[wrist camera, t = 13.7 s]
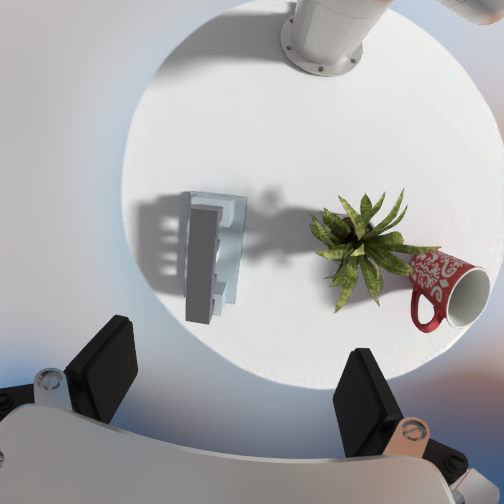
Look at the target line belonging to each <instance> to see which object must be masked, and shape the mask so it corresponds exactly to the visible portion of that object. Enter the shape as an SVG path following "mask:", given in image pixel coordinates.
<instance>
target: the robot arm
mask: <svg viewBox="0 0 504 504" xmlns="http://www.w3.org/2000/svg"><path fill="white" fill-rule="evenodd" d="M436 1H438V2H439V3H441V4H442V5H444V6H446V7H447V8H448V9H450V10H451V11H453V12H454V13H456V14H457V15H459V16H460V17H462V18H464V19H465V20H468V21H469V22H472V23H475V24H479V25H489V24H492V23H495V22H497V21H499V20H500V19H502V18H503V17H504V0H436ZM391 3H392V0H297V3H296V9H295V14H294V15H292V16H291V17H289V18H288V19H287V20H286V21H285V23H284V24H283V26H282V29H281V33H280V42H281V46H282V49H283V51H284V53H285V54H286V56H287V57H288V58H289V59H290V60H291V61H292V62H293V63H294V64H295V65H297V66H298V67H300V68H301V69H303V70H305V71H307V72H310V73H312V74H316V75H320V76H339V75H342V74H345V73H347V72H349V71H351V70H352V69H353V68H355V67H356V65H357V64H358V63H359V61H360V59H361V57H362V53H363V45H362V40H363V39H364V38H365V37H366V35H367V34H368V33H369V31H370V30H371V29H372V28H373V26H374V25H375V24H376V23H377V21H378V20H379V19H380V18H381V16H382V15H383V14H384V13H385V11H386V10H387V9H388V7H389V6H390V4H391ZM288 49H290V50H288ZM351 62H352V63H351ZM319 70H321V71H319ZM137 373H138V365H137V358H136V350H135V343H134V333H133V324H132V322H131V321H129V318H128V317H125V316H120V315H115V316H113V317H112V319H111V320H110V321H109V322H108V323H107V324H106V325H105V326H104V327H103V328H102V329H101V330H100V331H99V332H98V333H97V334H96V335H95V336H94V337H93V339H92V340H91V341H90V342H89V343H88V344H87V345H86V346H85V347H84V348H83V349H82V350H81V351H80V353H79V354H78V355H77V356H76V357H75V358H74V359H73V360H72V361H71V363H70V364H69V365H68V366H67V367H66V369H65V370H64V371H63V372H62V371H61V370H59V369H56V368H46V369H43V370H41V371H40V372H38V373H37V374H36V376H35V377H34V383H33V384H27V385H21V386H15V387H8V388H1V389H0V504H497V503H498V501H499V498H500V492H499V489H498V488H497V487H496V486H495V485H494V484H493V483H491V482H490V481H489V480H487V479H486V478H485V477H484V476H482V475H481V474H480V473H478V472H477V471H476V470H475V469H473V468H471V469H470V470H469V469H468V460H467V458H466V457H465V455H464V454H463V453H461V452H459V451H457V450H455V449H452V448H450V447H448V446H445V445H443V444H441V443H439V442H437V441H435V440H432V439H430V438H429V437H430V430H429V427H428V426H427V424H426V423H425V422H424V421H422V420H420V419H418V418H414V417H408V418H404V417H403V415H402V413H401V411H400V408H399V406H398V404H397V402H396V400H395V398H394V396H393V394H392V392H391V390H390V388H389V385H388V383H387V381H386V380H385V378H384V376H383V374H382V372H381V370H380V368H379V366H378V364H377V362H376V360H375V358H374V356H373V354H372V352H371V351H370V349H369V348H356V349H355V350H354V351H351V353H350V355H349V358H348V360H347V363H346V366H345V368H344V371H343V373H342V376H341V378H340V381H339V383H338V386H337V388H336V391H335V393H334V396H333V404H334V408H335V413H336V417H337V421H338V425H339V429H340V434H341V438H342V442H343V447H344V452H345V456H346V458H334V459H276V458H275V459H274V458H260V457H248V456H239V455H231V454H223V453H217V452H211V451H205V450H199V449H194V448H189V447H185V446H180V445H175V444H171V443H167V442H163V441H159V440H155V439H152V438H148V437H145V436H141V435H138V434H135V433H132V432H128V431H125V430H122V429H119V428H116V427H113V426H110V425H109V423H110V421H111V419H112V418H113V416H114V414H115V412H116V410H117V409H118V407H119V405H120V403H121V402H122V400H123V398H124V396H125V395H126V393H127V391H128V390H129V388H130V386H131V384H132V383H133V381H134V379H135V378H136V376H137Z"/></svg>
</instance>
